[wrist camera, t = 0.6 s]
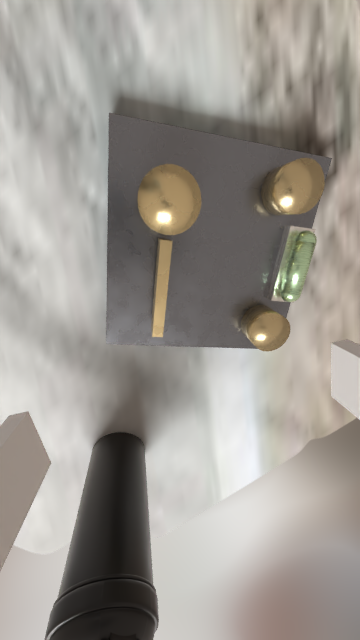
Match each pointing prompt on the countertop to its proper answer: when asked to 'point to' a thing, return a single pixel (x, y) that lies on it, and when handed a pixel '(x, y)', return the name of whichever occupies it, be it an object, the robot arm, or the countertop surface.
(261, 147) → the levelling base
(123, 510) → the water bottle
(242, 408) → the countertop surface
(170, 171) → the brass ladle
